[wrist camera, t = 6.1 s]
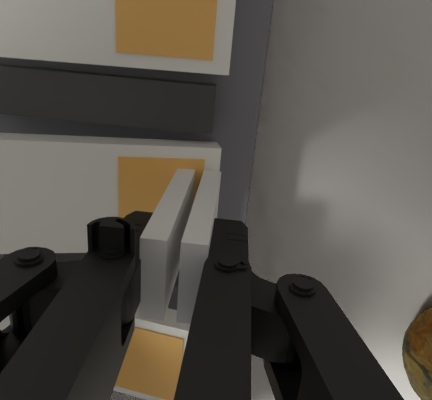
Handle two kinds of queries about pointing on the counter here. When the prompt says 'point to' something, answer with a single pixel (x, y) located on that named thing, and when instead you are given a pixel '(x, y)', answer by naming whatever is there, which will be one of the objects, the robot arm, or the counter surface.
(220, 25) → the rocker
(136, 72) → the rocker switch panel
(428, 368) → the onion
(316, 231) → the counter surface
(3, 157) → the block
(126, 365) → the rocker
